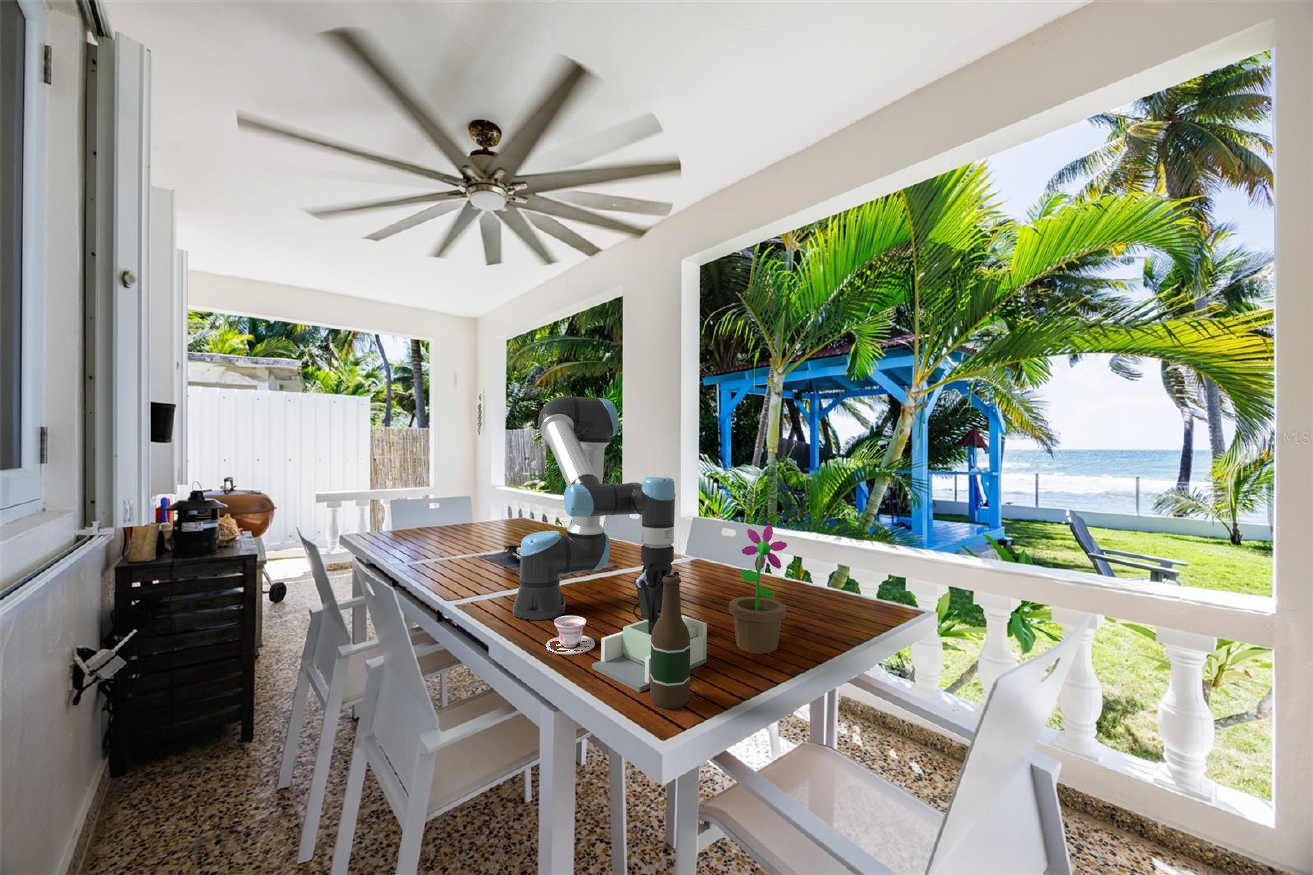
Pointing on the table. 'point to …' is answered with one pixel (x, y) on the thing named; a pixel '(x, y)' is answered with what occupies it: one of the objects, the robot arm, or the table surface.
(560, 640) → the teacup
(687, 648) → the beer bottle
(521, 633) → the table surface
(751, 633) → the flowerpot
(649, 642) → the crate
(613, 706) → the table surface
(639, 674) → the box
